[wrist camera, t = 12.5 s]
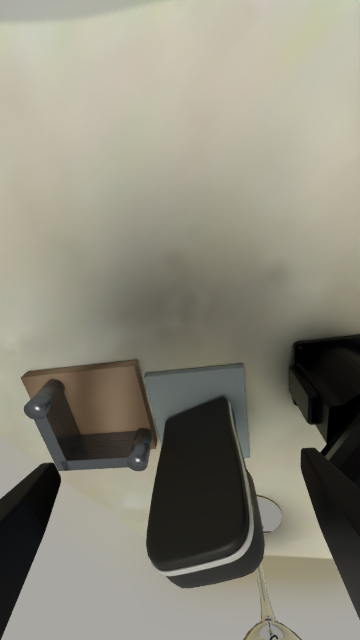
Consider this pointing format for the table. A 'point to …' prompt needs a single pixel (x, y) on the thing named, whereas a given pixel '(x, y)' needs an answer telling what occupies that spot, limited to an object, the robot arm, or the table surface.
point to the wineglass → (268, 633)
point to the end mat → (199, 395)
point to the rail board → (100, 396)
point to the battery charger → (204, 501)
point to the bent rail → (83, 436)
